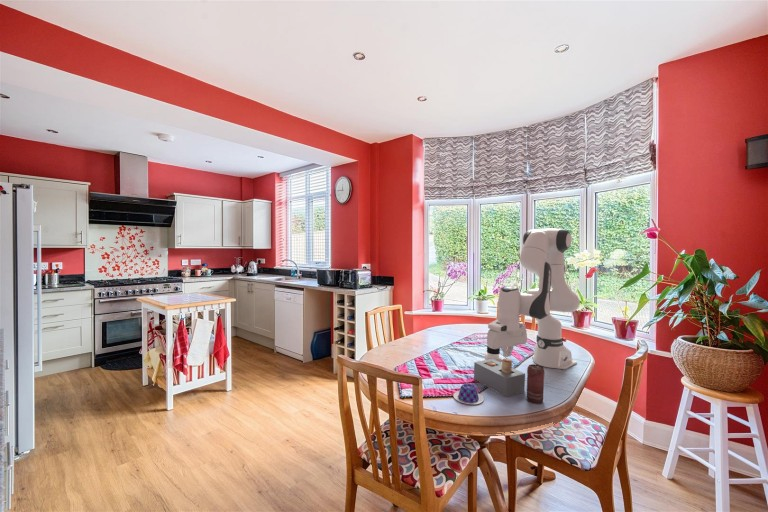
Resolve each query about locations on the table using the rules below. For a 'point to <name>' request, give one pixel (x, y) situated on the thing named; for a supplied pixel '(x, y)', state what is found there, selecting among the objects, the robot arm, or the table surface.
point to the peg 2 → (506, 366)
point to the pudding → (468, 394)
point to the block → (499, 378)
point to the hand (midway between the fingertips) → (506, 356)
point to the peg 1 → (491, 364)
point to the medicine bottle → (493, 354)
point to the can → (535, 383)
